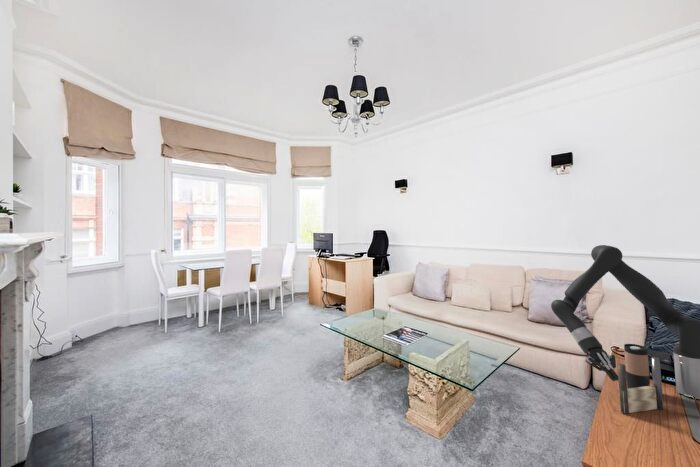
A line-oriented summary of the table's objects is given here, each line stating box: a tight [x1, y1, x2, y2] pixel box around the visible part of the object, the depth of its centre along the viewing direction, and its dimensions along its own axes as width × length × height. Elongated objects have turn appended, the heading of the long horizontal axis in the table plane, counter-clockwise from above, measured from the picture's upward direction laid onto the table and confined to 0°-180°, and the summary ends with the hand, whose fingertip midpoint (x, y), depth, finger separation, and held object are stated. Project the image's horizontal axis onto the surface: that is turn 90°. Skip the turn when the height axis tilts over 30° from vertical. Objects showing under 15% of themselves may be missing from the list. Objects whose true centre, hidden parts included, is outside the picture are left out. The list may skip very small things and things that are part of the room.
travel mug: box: [623, 343, 651, 389], centre depth 130 cm, size 8×8×20 cm
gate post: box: [650, 356, 664, 411], centre depth 118 cm, size 2×2×20 cm
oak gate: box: [616, 363, 658, 415], centre depth 116 cm, size 15×2×18 cm, turn 98°
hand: (616, 380), depth 118 cm, fingers closed
